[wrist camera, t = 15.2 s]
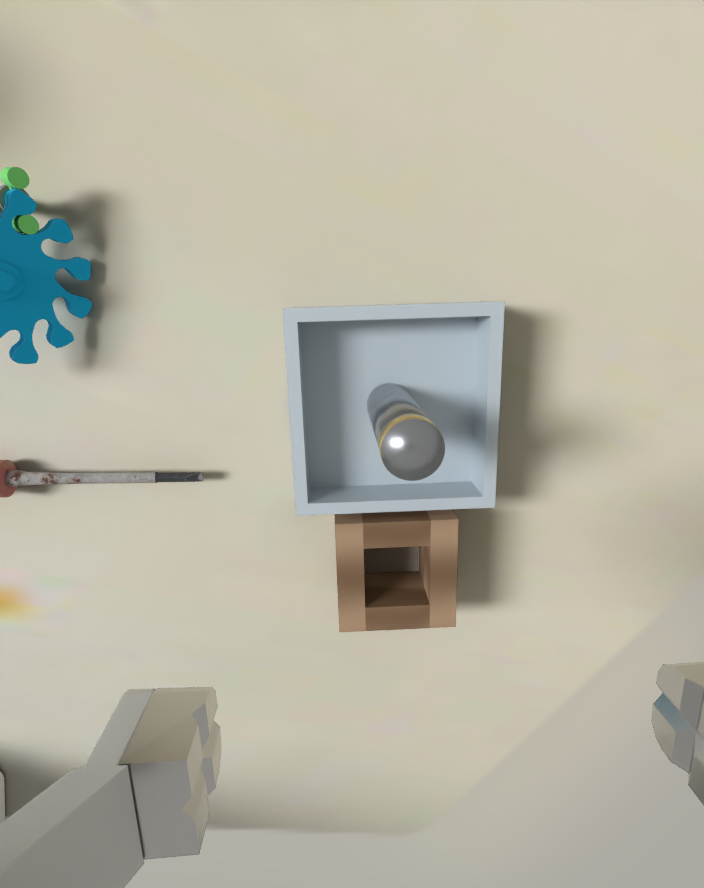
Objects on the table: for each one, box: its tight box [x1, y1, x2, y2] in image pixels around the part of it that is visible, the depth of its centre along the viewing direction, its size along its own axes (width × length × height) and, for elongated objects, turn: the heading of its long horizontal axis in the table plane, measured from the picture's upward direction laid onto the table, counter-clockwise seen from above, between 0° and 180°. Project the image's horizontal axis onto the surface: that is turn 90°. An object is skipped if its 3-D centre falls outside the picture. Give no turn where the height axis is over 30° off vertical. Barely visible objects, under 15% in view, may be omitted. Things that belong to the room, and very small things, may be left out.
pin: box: [367, 383, 445, 481], centre depth 29 cm, size 3×3×11 cm
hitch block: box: [335, 509, 459, 632], centre depth 36 cm, size 8×8×4 cm
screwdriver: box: [0, 460, 203, 497], centre depth 34 cm, size 25×3×3 cm, turn 90°
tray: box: [283, 301, 505, 516], centre depth 33 cm, size 13×13×4 cm
